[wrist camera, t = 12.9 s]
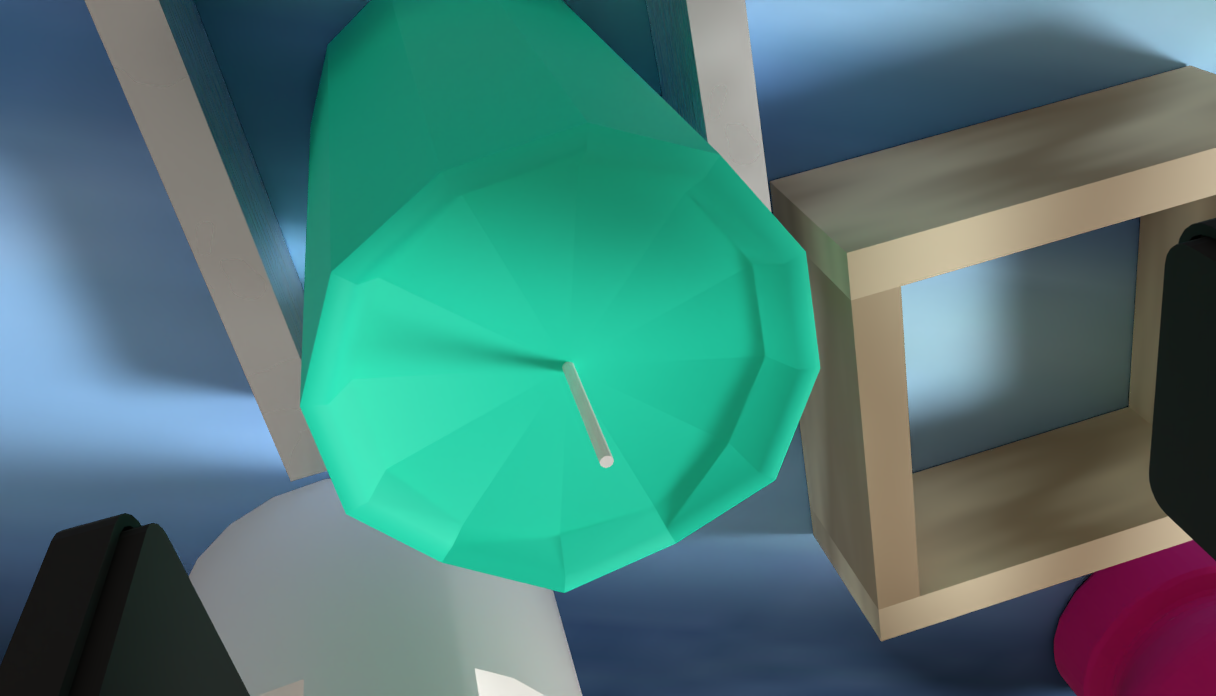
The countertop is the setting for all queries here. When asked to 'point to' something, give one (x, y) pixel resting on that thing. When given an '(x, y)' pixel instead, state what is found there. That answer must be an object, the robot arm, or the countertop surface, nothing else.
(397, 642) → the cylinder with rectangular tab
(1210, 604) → the pepper mill
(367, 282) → the candle
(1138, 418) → the wooden frame
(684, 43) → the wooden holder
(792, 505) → the countertop surface
